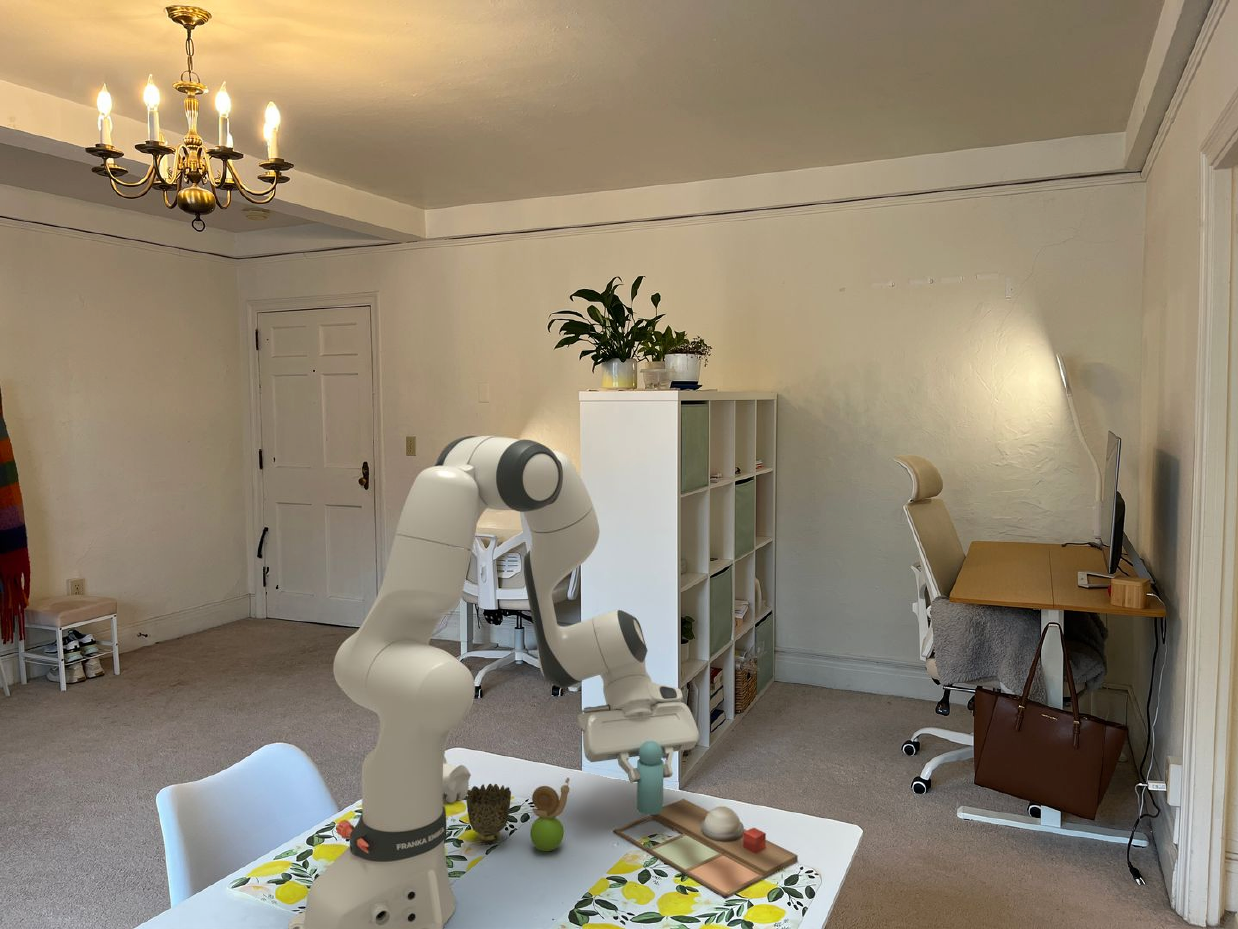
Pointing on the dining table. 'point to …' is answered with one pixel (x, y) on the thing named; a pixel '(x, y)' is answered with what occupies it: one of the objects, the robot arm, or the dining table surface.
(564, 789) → the snail figurine
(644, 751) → the pawn
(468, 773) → the elephant figurine
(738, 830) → the game board
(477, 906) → the dining table surface
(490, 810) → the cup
